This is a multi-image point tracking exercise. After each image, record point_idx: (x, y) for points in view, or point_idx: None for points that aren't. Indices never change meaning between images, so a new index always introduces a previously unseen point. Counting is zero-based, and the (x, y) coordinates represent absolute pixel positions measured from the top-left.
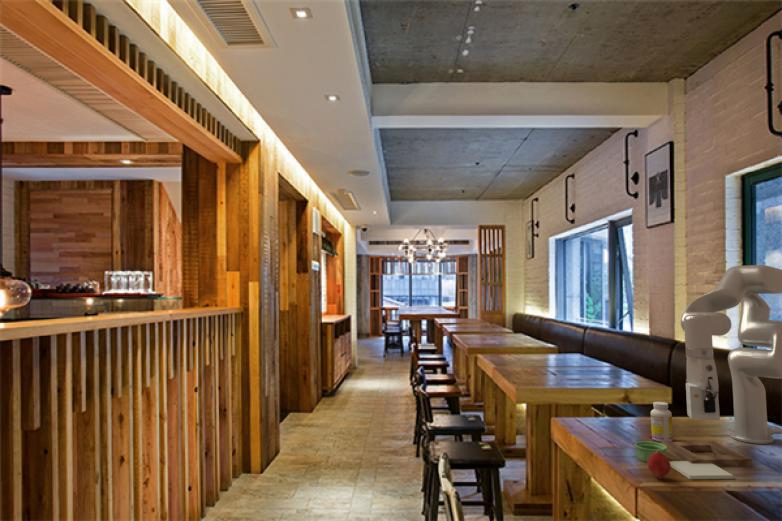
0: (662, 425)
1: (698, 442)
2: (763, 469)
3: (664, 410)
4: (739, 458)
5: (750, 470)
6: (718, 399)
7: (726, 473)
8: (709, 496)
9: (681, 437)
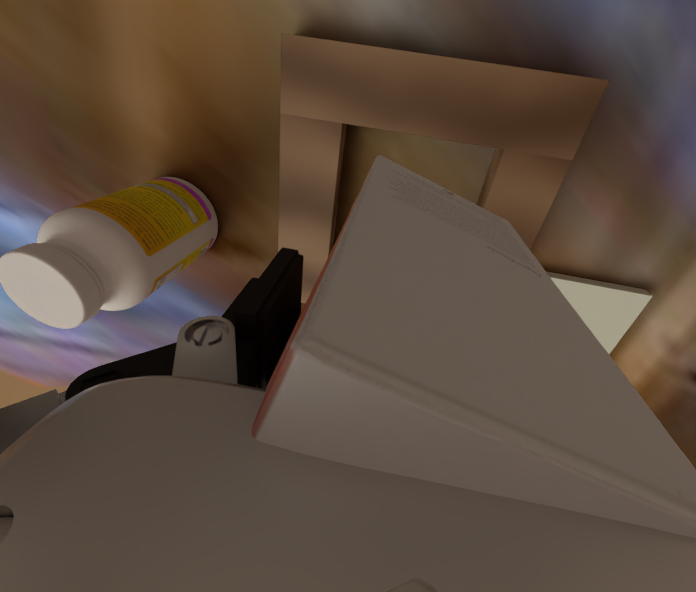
0: (179, 265)
1: (293, 150)
2: (657, 59)
3: (108, 278)
4: (566, 142)
5: (626, 144)
6: (585, 324)
7: (625, 303)
8: (685, 433)
9: (129, 97)
